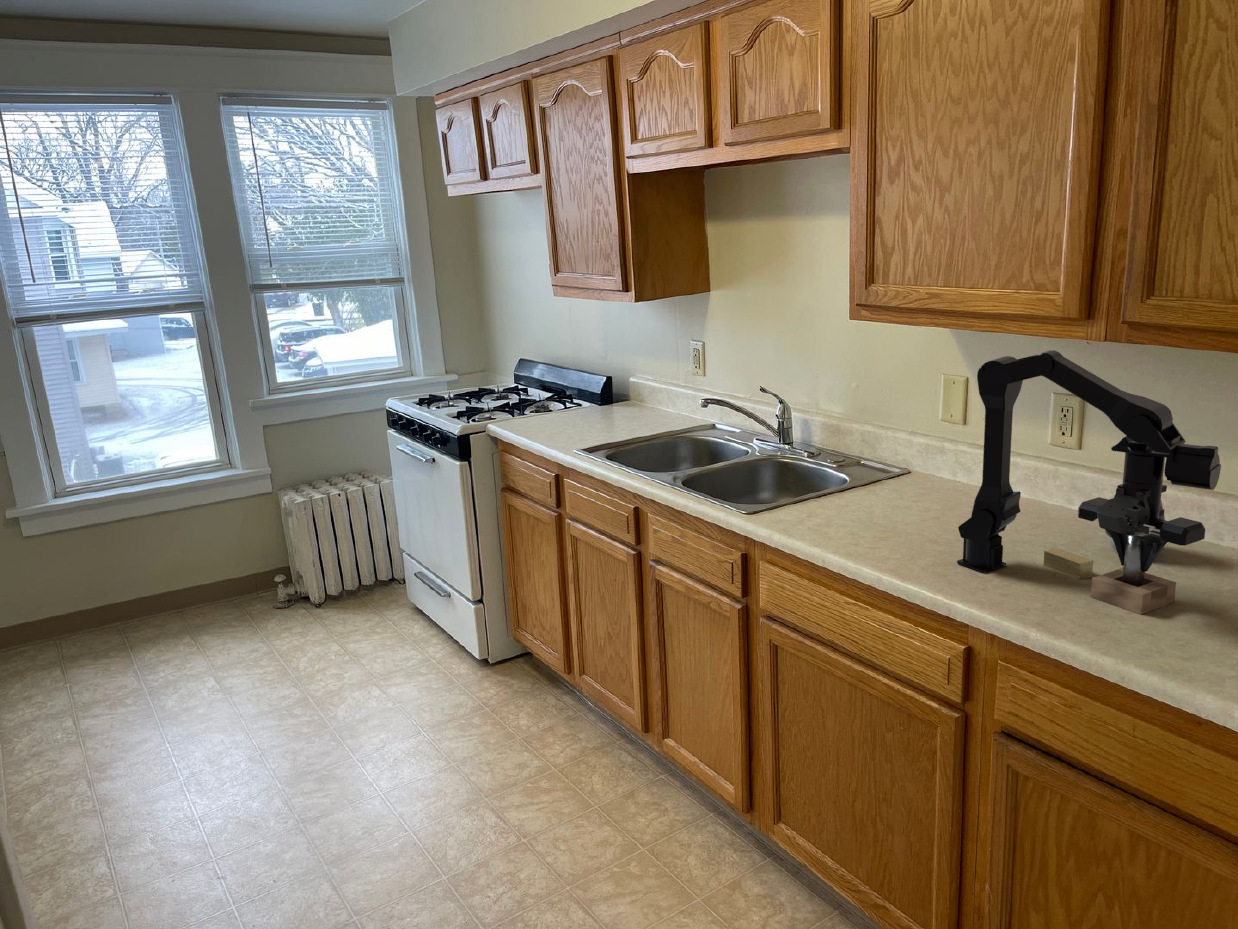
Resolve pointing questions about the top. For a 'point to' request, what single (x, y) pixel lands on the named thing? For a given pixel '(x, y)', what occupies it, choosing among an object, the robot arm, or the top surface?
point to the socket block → (1133, 592)
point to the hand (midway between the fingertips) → (1134, 568)
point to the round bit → (1133, 559)
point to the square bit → (1068, 563)
